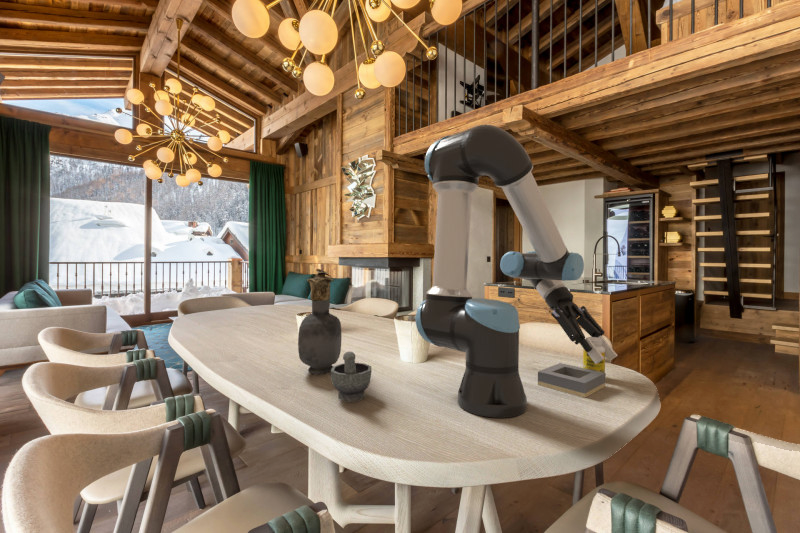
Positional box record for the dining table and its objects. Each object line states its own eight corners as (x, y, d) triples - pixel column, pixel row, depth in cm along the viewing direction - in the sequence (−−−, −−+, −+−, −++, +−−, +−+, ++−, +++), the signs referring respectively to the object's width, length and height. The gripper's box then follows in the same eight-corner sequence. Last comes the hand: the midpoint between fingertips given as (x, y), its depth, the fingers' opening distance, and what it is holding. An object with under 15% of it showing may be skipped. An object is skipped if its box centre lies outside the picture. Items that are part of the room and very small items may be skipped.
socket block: (584, 397, 89) (584, 383, 89) (537, 384, 98) (537, 371, 98) (605, 386, 97) (605, 372, 97) (560, 375, 106) (560, 362, 106)
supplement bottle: (584, 375, 102) (584, 339, 102) (581, 369, 107) (582, 335, 107) (606, 377, 100) (606, 341, 100) (603, 371, 105) (603, 336, 105)
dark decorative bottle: (294, 379, 103) (293, 269, 102) (311, 360, 122) (311, 267, 121) (334, 379, 102) (334, 269, 102) (345, 360, 122) (344, 267, 121)
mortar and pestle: (334, 389, 95) (334, 342, 94) (372, 389, 95) (372, 342, 95) (327, 407, 83) (327, 354, 83) (369, 407, 84) (369, 353, 83)
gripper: (566, 300, 121) (616, 362, 107) (527, 302, 112) (576, 371, 98) (581, 284, 117) (636, 348, 103) (542, 286, 107) (595, 356, 93)
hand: (606, 359), depth 101 cm, fingers closed on supplement bottle, 5 cm apart
